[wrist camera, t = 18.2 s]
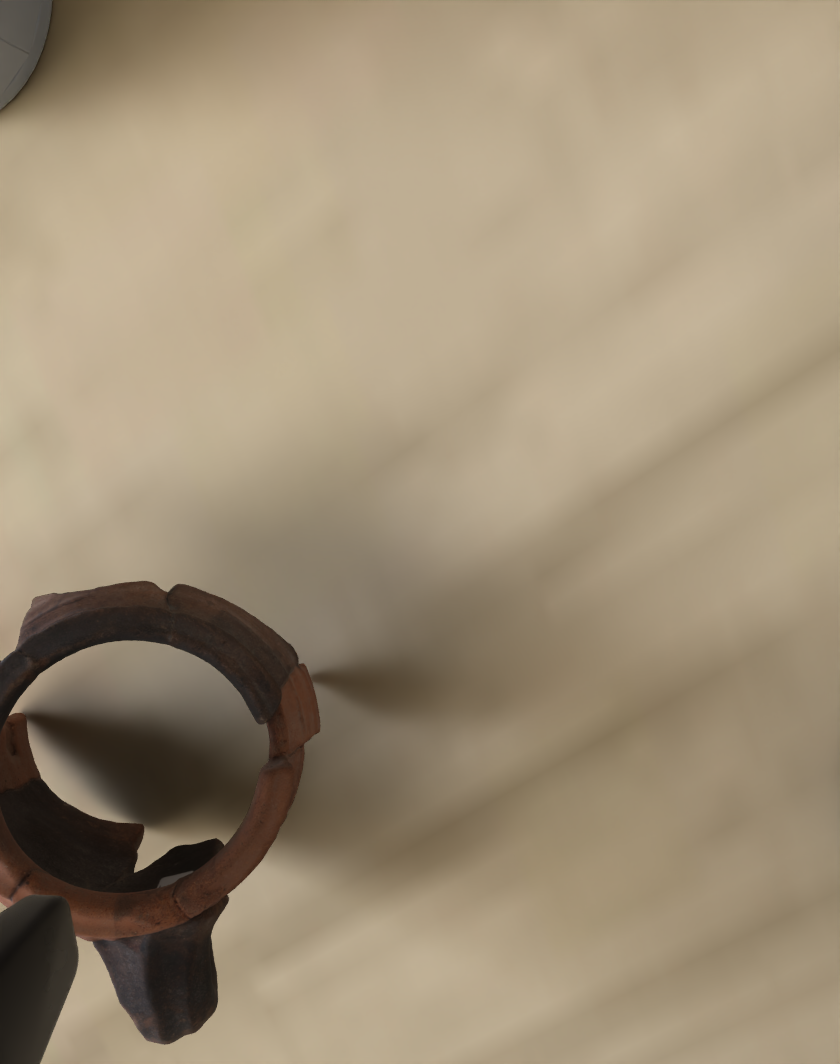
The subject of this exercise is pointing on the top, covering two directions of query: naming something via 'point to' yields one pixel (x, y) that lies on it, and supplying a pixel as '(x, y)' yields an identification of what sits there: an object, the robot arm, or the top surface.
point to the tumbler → (21, 42)
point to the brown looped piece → (111, 848)
